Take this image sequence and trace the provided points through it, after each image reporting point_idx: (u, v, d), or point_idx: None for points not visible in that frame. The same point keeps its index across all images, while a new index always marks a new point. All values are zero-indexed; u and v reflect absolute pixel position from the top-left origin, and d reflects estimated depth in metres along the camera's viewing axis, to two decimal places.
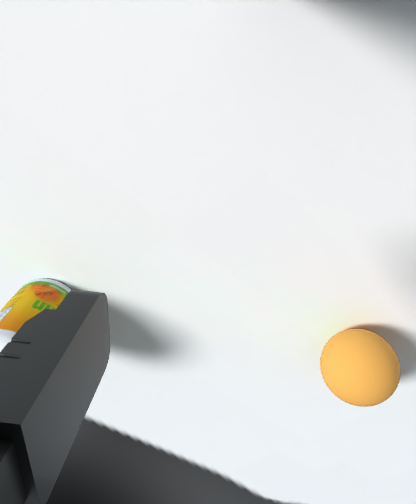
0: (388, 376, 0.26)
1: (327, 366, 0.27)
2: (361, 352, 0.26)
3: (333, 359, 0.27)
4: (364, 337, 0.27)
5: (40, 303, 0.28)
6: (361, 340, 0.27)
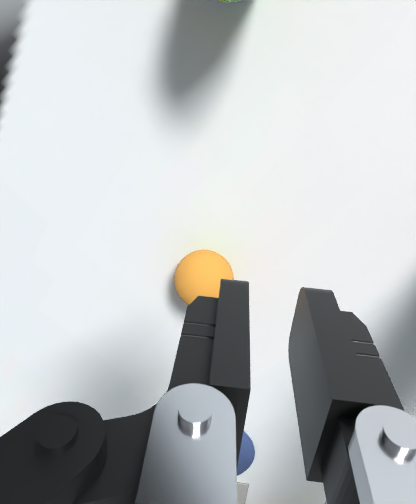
0: None
1: (209, 260, 0.34)
2: None
3: (217, 263, 0.34)
4: None
5: None
6: None
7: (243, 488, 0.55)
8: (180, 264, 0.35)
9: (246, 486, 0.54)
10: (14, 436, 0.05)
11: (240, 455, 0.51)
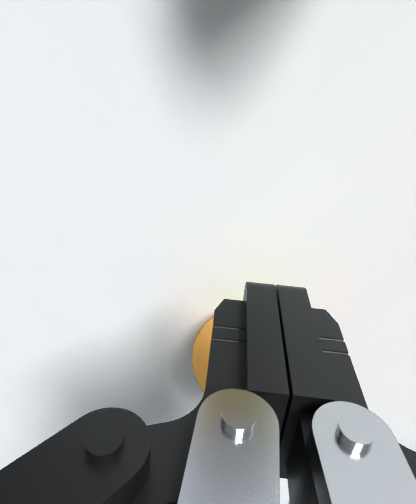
0: None
1: None
2: None
3: None
4: None
5: None
6: None
7: None
8: (203, 335, 0.20)
9: None
10: (62, 439, 0.05)
11: None
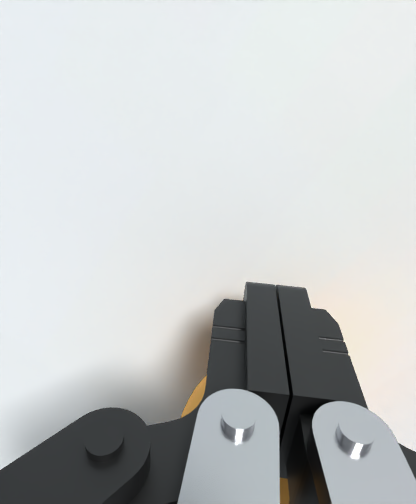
0: None
1: None
2: None
3: None
4: None
5: None
6: None
7: None
8: None
9: None
10: (62, 439, 0.05)
11: None
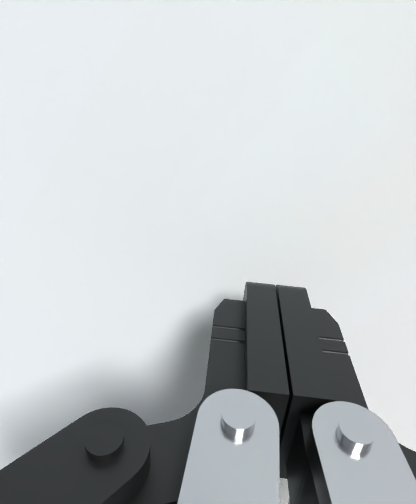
0: None
1: None
2: None
3: None
4: None
5: None
6: None
7: None
8: None
9: None
10: (62, 438, 0.05)
11: None
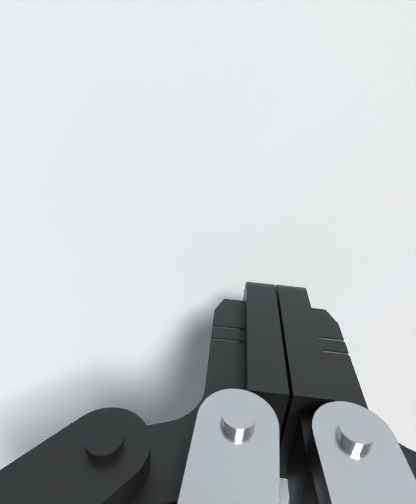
0: None
1: None
2: None
3: None
4: None
5: None
6: None
7: None
8: None
9: None
10: (62, 438, 0.05)
11: None
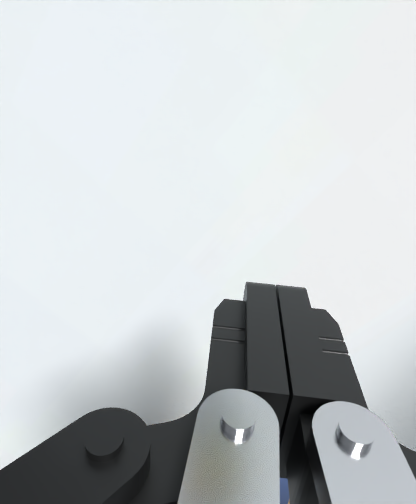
0: None
1: None
2: None
3: None
4: None
5: None
6: None
7: None
8: None
9: None
10: (62, 439, 0.05)
11: None
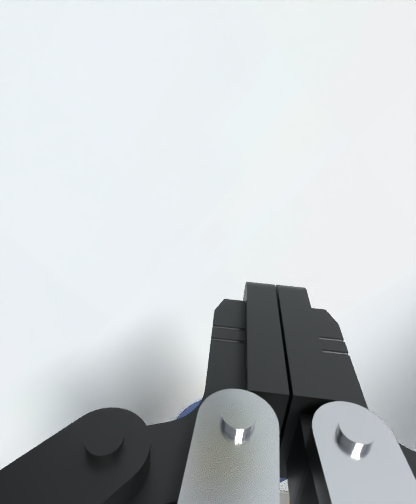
0: None
1: None
2: None
3: None
4: None
5: None
6: None
7: None
8: None
9: None
10: (62, 439, 0.05)
11: None
